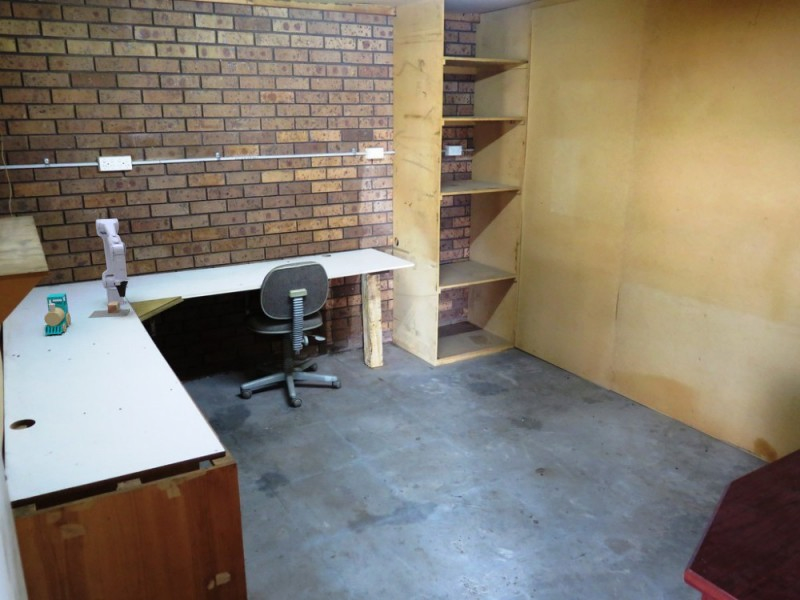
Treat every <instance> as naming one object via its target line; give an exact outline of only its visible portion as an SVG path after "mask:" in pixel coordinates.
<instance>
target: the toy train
mask: <svg viewBox="0 0 800 600" xmlns="http://www.w3.org/2000/svg"><path fill="white" fill-rule="evenodd" d="M46 302H47V303H46V304H47V308H48V312H47V313H46V314H45V315H44V319H43V320H44V323H45V325H44V335H45V336H46V335H59V334H62V333H66V332H67V327H70V326H71V325H72V320H71V319H72V318H71V314H70V313H69V306H68V297H67V292H65V293H64V292H62V293H50V294H48V295H47V296H46Z"/></svg>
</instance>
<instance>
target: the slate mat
mask: <svg viewBox="0 0 800 600" xmlns="http://www.w3.org/2000/svg"><path fill="white" fill-rule="evenodd" d="M130 309H131V308H129V309H127V308H125V309H120V310H119V311H118V312H117V313H108V309H105V310H104V309H102V310H99V309H98V310H94V311H92V313H91V314H90V315H89V316H88V317H87V318H88V319H94V318H98V319H99V318H115V317H119V318H121V317H127V316H128V315H129V313H130V312H131V311H130Z"/></svg>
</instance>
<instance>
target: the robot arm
mask: <svg viewBox="0 0 800 600" xmlns="http://www.w3.org/2000/svg"><path fill="white" fill-rule="evenodd" d="M95 228H96V234H97V236H98V237H100V238H101V239H102V241H103V248H104V249H103V250H104V256H105V262H106V263H105V264H106V269H105V271H103V272H102V274H101V276H102V277H101V281H102V286H103V288H104V289H106V297H107V304H106V305H105V307H107V305H108V304H109V303H110V302H115V301H119V303H120V307H123V306H124V305H125V304H126V303H127V301H126V300H125V297H126V293H127V292H126V291H127V286H128V283H129V280H130V279H131V277H128V273H127V263H126V254H127V248H126V245H125V242H122V239H121V237H120V235H118V233H119V229H120V223H119V220H118V219H117V218H116V217H115V218H104V219H99V218H97V219H96V220H95ZM125 302H126V303H125ZM107 308H108V307H107Z"/></svg>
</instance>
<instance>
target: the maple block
mask: <svg viewBox="0 0 800 600" xmlns="http://www.w3.org/2000/svg"><path fill="white" fill-rule="evenodd" d="M107 304H108V303H107ZM107 304H106V305H107ZM107 310H108V313H117V312H118V311H119V310H121V306H120V303H119V301H115V302H110V303H109V304H108V305H107Z"/></svg>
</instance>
